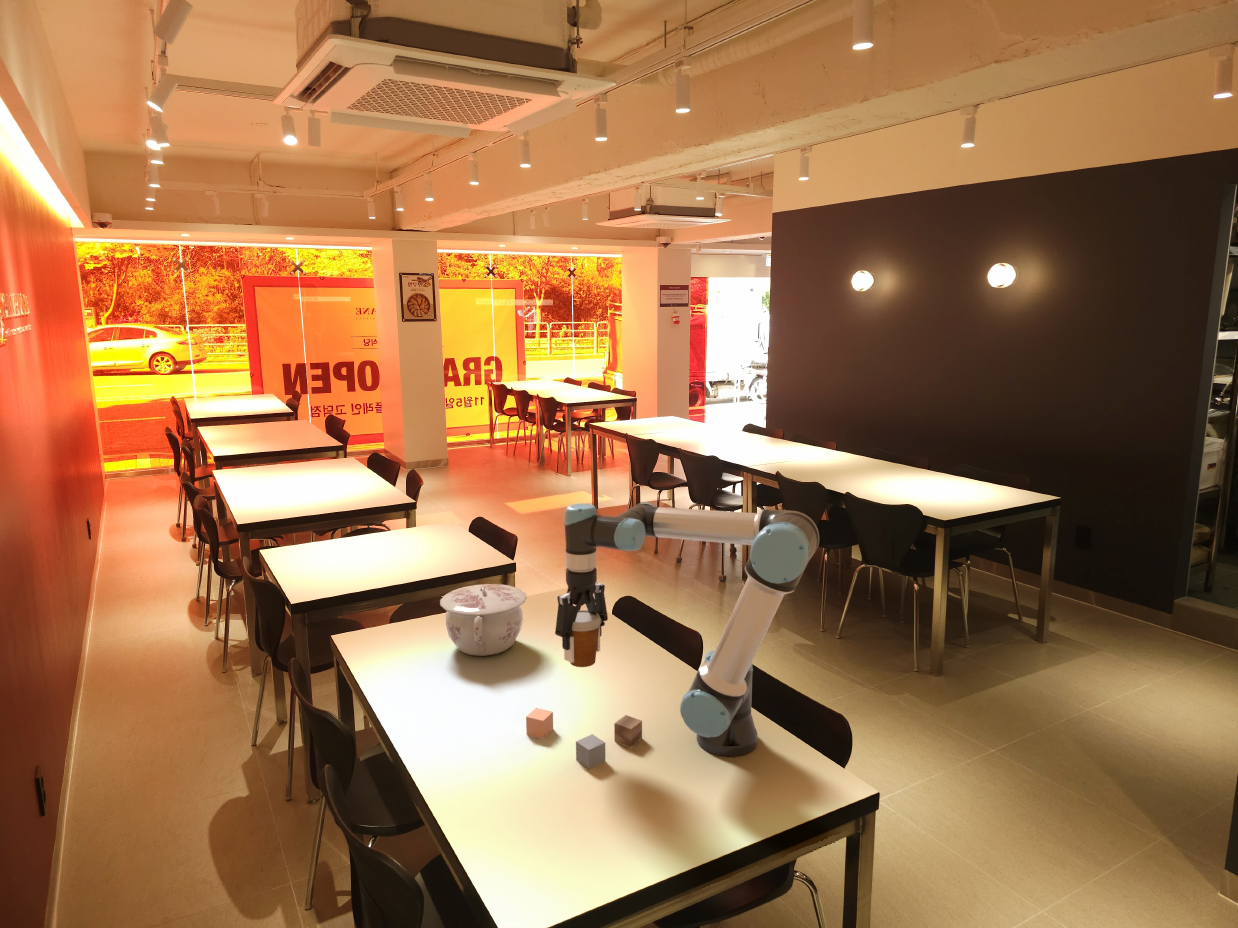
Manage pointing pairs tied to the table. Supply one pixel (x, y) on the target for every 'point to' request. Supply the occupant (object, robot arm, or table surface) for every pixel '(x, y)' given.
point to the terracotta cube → (539, 723)
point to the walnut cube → (628, 731)
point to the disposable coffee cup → (585, 638)
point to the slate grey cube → (590, 751)
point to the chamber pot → (484, 617)
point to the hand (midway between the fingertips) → (582, 655)
